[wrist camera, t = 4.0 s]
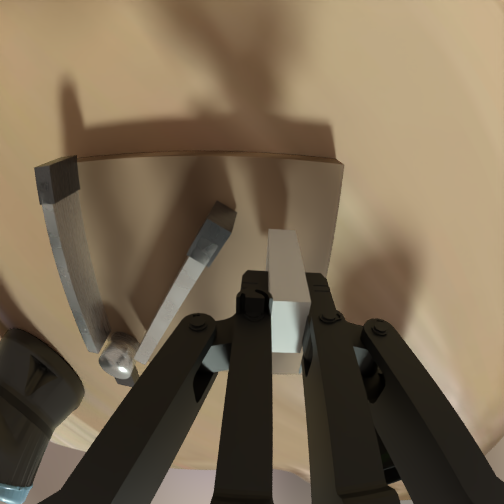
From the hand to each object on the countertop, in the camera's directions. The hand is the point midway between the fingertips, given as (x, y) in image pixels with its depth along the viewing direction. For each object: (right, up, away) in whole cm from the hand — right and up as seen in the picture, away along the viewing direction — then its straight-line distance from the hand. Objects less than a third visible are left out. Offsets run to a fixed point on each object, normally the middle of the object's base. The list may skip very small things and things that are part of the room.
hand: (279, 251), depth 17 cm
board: (-6, -2, +5) cm, 8 cm away
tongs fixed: (-13, -2, +4) cm, 14 cm away
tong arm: (-7, -2, +3) cm, 8 cm away
